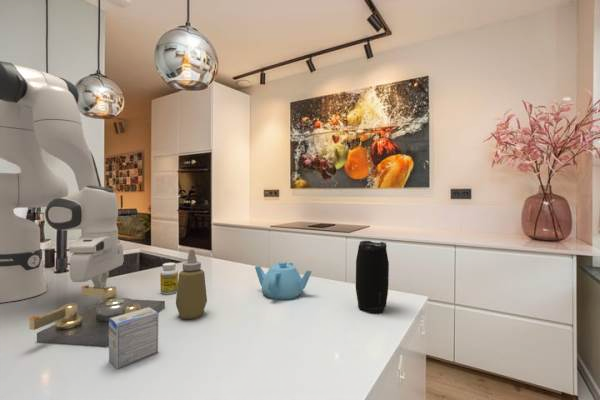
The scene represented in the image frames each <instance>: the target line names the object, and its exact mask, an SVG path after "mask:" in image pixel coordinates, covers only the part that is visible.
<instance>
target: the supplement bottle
mask: <svg viewBox="0 0 600 400" xmlns="http://www.w3.org/2000/svg"><path fill="white" fill-rule="evenodd" d="M178 271H179V270H178V269H177V267H176V262H164V263H163V264H162V270H161V271H160V294H161V295H165V296H166V295H174V294H177V287H178V278H179V272H178Z"/></svg>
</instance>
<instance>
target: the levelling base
mask: <svg viewBox="0 0 600 400" xmlns="http://www.w3.org/2000/svg"><path fill="white" fill-rule="evenodd" d="M148 307H149V308H151V309H153V310H155V311H156V312H158V313H160V312H161V311H162V310H164V309H165V308H166V300H151V299H133V298H128V297H119V298H116V299H111V300H107V301H103V302H101V303H99V302H98V303H97V304H96V305H93V306H91V307H89V308H87V309H85V310H82V311H80V312H77V316H82V323H81V324H79V325H77V326H75V327H71V328H67V329H57V328H55V324H53V325H51V326H49V327H46V328H44V329H43V330H40V331H38V332H36V343H47V344H62V345H74V346H75V345H76V346H77V345H78V346H90V347H91V346H94V347H108V348H109V319H110V318H113V317H116V316H119V315H123V314H126V313H130V312H133V311H137V310H141V309H144V308H148Z"/></svg>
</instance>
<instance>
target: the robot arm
mask: <svg viewBox="0 0 600 400" xmlns="http://www.w3.org/2000/svg"><path fill="white" fill-rule="evenodd" d="M79 99H80V94H79V91H78V89H77V86H76V85H75V84H73V83H72V81H69V80H67V79H65V78H62V77H59V76H58V77H57V76H56V75H53V74H50V73H48V72H45V71H43V70H39V69H35V68H34V69H33V68H30V67H26V66H22V65H17V64H13V63H11V62H7V61H2V60H1V61H0V159H2V160H4V161H6V162H9V163H11V164H13V165H16V166H17V167H19V169H20V172H17V173H12V172H0V303H7V302H14V301H21V300H26V299H29V298H30V299H31V298H33V297H36V296H39V295H42V294H44V293H46V292H47V291H48V288H47V287H48V283H47V282H45V281H46V280H45V273H44V265H43V263H42V261H43V256H44V255H43V250H42V249H41V228H40V226H39V224H37V223H36V222H34V221H33V220H30V219H27V218H24V217H22V216H19V215H17V214H15V213H14V210H15V209H18V208H20V209H21V208H23V209H24V208H45V211H44V217H45V220H46V223H47V225H48V226H50V227H51V228H53V229H54V230H57V231H72V230H73V231H74V230H81V236H80V237H79V238H78V239H77V240H76V239H75V241H74V242H72V243H71V244H70V245H69V247H68V250H69V251H68V253H70V254H71V255H70V257H69V258H70V259H69V277H70V280H71V281H72V282H73V283H85V282H88V281H90V280H91V281H92V283H93V287H104V288H106V287H107V281H108V278H109V275H110V271H112V270H114V269H116V268H117V269H118V268H119V267H121V266H123V263H124V261H125V260H124V249H123V248H124V247H123V244H122V243H121V240H120V239H119V228H118V224H117V221H118V218H119V206H118V203H119V202H118V197H117V194H116V191H115V190H114V189H112V188H109V187H107V186H102V184H101V183H102V182H101V179H100V176H99V171H98V168H97V164H96V162H95V161H96V160H95V158H94V155H93V153H92V152H91V149H90V148H89V146H88V144H87V140H86V138H85V134H84V130H83V124H82V123H83V122H82V118H81V114H80V110H79V106H78V103H79ZM42 149H43V150H44V151H45V152H46V153H48V154H49V155H51V156H53V157H55V158H56V159H58V160H60V161H62V162H63V163H65V164H66V165H67V166H68V167H69V168H70V169H71V170H72V172H73V175H74V177H75V181H76V184H77V187H78V191H77V192H75V193H73V194H70V195H69V187H68V184H67V183H66V181H65V180H64V179H63V178H62V177H60V176H59V175H57V174H56V173H55V172H53V171H52V170H51V169H50V168H49V166H48V164H47V163H46V161H45V159H44V156H43V152H42V151H43V150H42Z"/></svg>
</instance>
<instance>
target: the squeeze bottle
mask: <svg viewBox="0 0 600 400" xmlns="http://www.w3.org/2000/svg"><path fill="white" fill-rule="evenodd" d="M205 275H206V274H205V271H204V270H203V269H202V263H201V261H197V256H196V252H195V249H194V248H191V249H189V252H188V255H187V259H186V261H185V262H182V270H181V271H180V272H178V287H177V292H176V298H175V306H176V308H177V312H178V314H179V317H180V318H181V319H185V320H190V319H191V320H192V319H196V318H200V317H202V315H203V314H204V311H205V309H206V305H207V302H208V297H207V286H206V277H205Z"/></svg>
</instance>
